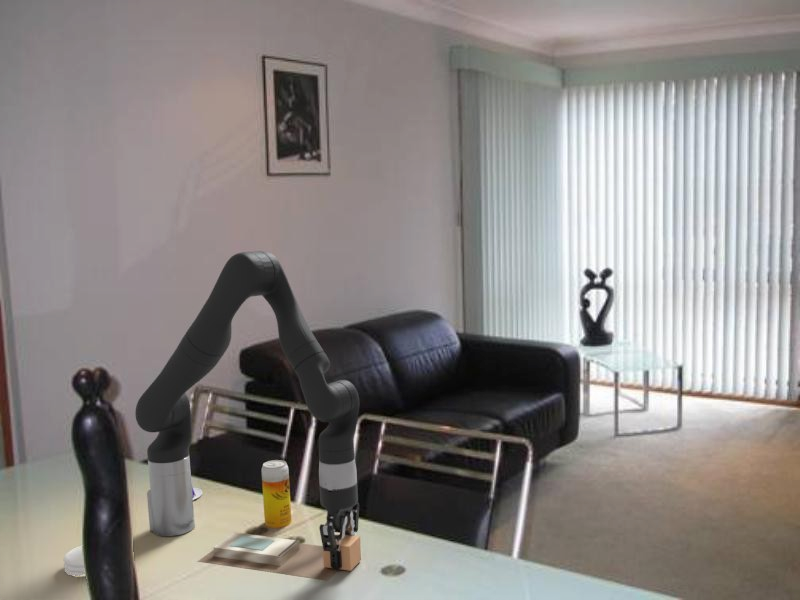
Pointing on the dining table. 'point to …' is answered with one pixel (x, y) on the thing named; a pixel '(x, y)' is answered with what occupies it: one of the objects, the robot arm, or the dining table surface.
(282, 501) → the beer can
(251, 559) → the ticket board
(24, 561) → the dining table surface
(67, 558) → the white frilly dome
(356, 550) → the light orange cube
